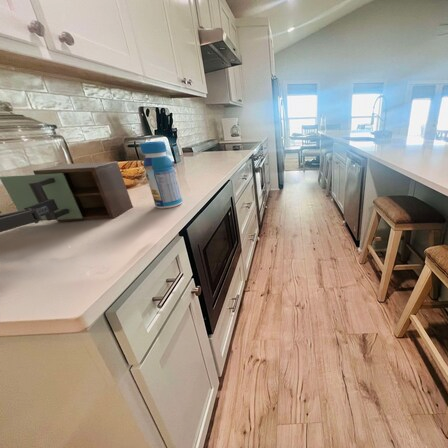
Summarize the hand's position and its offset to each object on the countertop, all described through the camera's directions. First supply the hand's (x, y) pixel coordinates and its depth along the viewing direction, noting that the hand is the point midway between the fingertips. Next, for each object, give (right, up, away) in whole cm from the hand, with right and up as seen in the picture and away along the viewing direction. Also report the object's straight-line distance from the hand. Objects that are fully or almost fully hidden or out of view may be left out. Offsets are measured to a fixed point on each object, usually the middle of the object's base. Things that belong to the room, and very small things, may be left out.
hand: (25, 206), depth 58 cm
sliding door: (-4, -4, +8) cm, 10 cm away
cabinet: (+4, -1, +17) cm, 17 cm away
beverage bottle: (+23, +2, +22) cm, 32 cm away
